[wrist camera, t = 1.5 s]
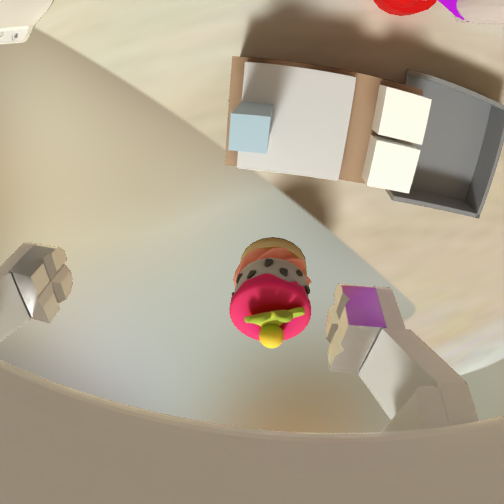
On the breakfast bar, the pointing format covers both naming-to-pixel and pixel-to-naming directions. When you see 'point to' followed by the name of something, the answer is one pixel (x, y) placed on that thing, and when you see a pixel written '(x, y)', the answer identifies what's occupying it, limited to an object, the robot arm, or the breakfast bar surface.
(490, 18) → the toy
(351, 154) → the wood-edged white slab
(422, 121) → the tile
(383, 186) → the tile
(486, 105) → the tray
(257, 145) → the blue-knobbed white block
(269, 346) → the cake
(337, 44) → the breakfast bar surface
